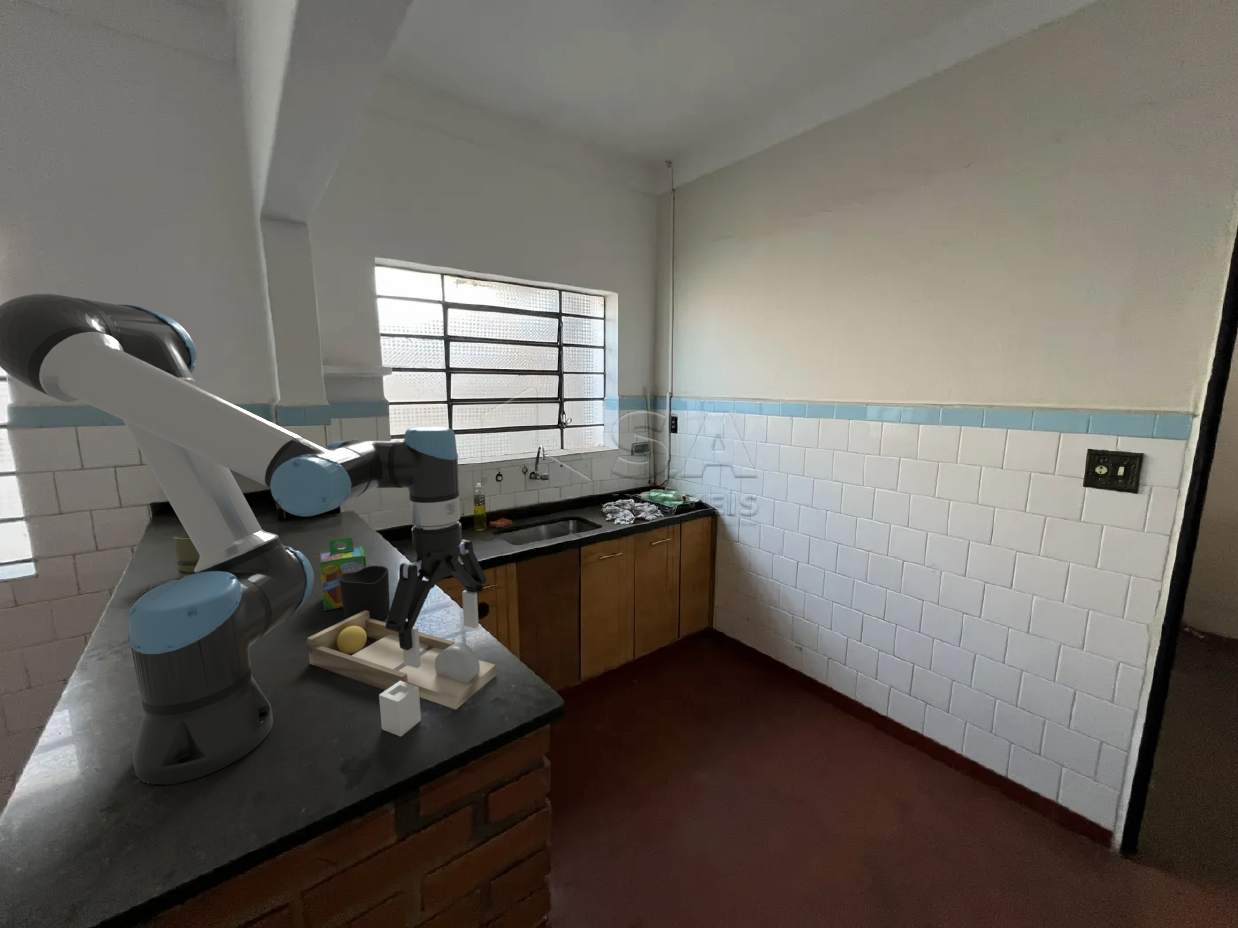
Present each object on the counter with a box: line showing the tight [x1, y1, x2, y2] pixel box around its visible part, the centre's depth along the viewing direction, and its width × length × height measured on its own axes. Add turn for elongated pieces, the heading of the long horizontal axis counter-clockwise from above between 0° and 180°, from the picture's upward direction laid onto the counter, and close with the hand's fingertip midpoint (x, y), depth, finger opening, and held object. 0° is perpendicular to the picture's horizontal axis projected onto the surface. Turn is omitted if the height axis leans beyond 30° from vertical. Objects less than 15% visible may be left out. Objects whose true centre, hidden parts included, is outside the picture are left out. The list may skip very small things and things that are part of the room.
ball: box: [337, 626, 368, 655], centre depth 93 cm, size 5×5×5 cm
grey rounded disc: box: [435, 642, 480, 684], centre depth 83 cm, size 3×7×7 cm, turn 66°
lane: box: [306, 610, 497, 710], centre depth 88 cm, size 12×33×5 cm, turn 66°
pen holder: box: [339, 565, 391, 622], centre depth 106 cm, size 9×9×10 cm
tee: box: [378, 681, 422, 737], centre depth 73 cm, size 4×4×6 cm
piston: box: [173, 529, 200, 579], centre depth 129 cm, size 11×12×11 cm
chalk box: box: [319, 536, 367, 612], centre depth 114 cm, size 9×9×15 cm
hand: (444, 644), depth 83 cm, fingers open, 13 cm apart
